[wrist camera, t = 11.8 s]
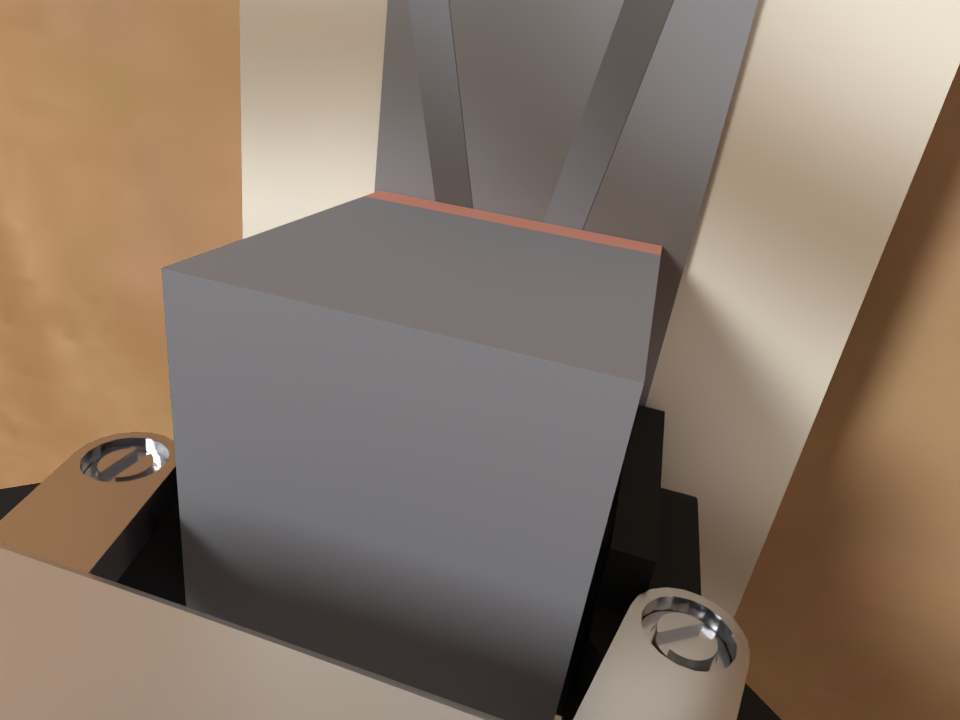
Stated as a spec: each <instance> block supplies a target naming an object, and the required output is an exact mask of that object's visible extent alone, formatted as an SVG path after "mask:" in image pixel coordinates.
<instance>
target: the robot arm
mask: <svg viewBox="0 0 960 720" xmlns="http://www.w3.org/2000/svg"><path fill="white" fill-rule="evenodd" d="M664 420H665V411H661V410H657V409H653V408H649V407H645V406H641V405H638V408H637V411H636V415H635V419H634V423H633V426H632V430H631V434H630V438H629V441H628V445H627V449H626V453H625V456H624V460H623V464H622V468H621V471H620V475H619V479H618V482H617V486H616V490H615V494H614V497H613V501H612V505H611V509H610V512H609V516H608V520H607V524H606V527H605V531H604V535H603V539H602V542H601V546H600V550H599V554H598V557H597V561H596V565H595V569H594V572H593V576H592V580H591V584H590V587H589V591H588V595H587V599H586V602H585V606H584V610H583V614H582V617H581V621H580V625H579V629H578V632H577V636H576V640H575V644H574V647H573V651H572V655H571V659H570V662H569V666H568V670H567V673H566V677H565V681H564V685H563V688H562V692H561V696H560V700H559V703H558V707H557V711H556V715H558V716H561V717H562V720H781V719H780V718H779V717H778V716H777V715H776V714H775V713H774V712H773V711H772V710H771V709H770V708H769V707H768V706H767V705H766V704H765V703H764V702H763V701H762V700H761V699H760V698H759V697H758V696H757V695H756V694H755V693H754V691H753V690H752V689H751V688H750V687H749V686H748V685H747V684H746V683H745V681H746V677H747V673H748V668H749V664H750V646H749V644H748V641H747V639H746V636H745V634H744V632H743V630H742V629H741V628H740V627H739V625H738V624H737V623H736V621H735V620H734V619H733V618H732V617H731V616H730V615H729V614H728V613H727V612H725V611H724V610H723V609H722V608H721V607H719V606H718V605H717V604H715V603H713V602H711V601H710V600H708V599H706V598H704V597H703V596H701V574H700V546H699V518H698V500H697V498H696V497H695V496H691V495H687V494H684V493H680V492H676V491H672V490H669V489H665V488H661V475H662V457H663V439H664ZM0 720H504V719H501V718H498V717H495V716H492V715H490V714H487V713H484V712H481V711H478V710H476V709H473V708H470V707H467V706H465V705H462V704H459V703H456V702H453V701H451V700H448V699H445V698H442V697H439V696H437V695H434V694H431V693H428V692H425V691H423V690H420V689H417V688H414V687H412V686H409V685H406V684H403V683H400V682H398V681H395V680H392V679H389V678H386V677H384V676H381V675H378V674H375V673H373V672H370V671H367V670H364V669H361V668H359V667H356V666H353V665H350V664H347V663H344V662H342V661H339V660H336V659H333V658H330V657H327V656H325V655H322V654H319V653H316V652H313V651H310V650H308V649H305V648H302V647H299V646H296V645H293V644H291V643H288V642H285V641H282V640H279V639H276V638H274V637H271V636H268V635H265V634H262V633H259V632H257V631H254V630H251V629H248V628H245V627H242V626H240V625H237V624H234V623H231V622H228V621H225V620H222V619H220V618H217V617H214V616H211V615H208V614H205V613H202V612H200V611H197V610H194V609H191V608H188V607H186V596H185V583H184V569H183V555H182V542H181V528H180V515H179V501H178V487H177V474H176V460H175V446H174V441H172V440H171V439H169V438H167V437H165V436H162V435H158V434H153V433H143V432H131V433H121V434H115V435H111V436H107V437H103V438H100V439H98V440H95V441H93V442H91V443H88V444H86V445H85V446H83V447H82V448H80V449H79V450H78V451H76V452H75V453H74V454H73V455H71V456H70V457H69V458H68V459H67V460H66V461H65V462H64V463H63V464H62V465H60V466H59V467H58V468H57V469H56V470H55V471H54V472H53V473H52V474H51V475H50V476H48V477H47V478H46V479H45V480H44V481H43V482H42V483H37V484H30V485H24V486H18V487H12V488H5V489H0Z"/></svg>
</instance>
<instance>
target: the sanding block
mask: <svg viewBox="0 0 960 720" xmlns="http://www.w3.org/2000/svg"><path fill="white" fill-rule="evenodd" d="M661 250H662V246H660V245H655V244H650V243H645V242H640V241H635V240H630V239H625V238H620V237H614V236H609V235H604V234H599V233H594V232H589V231H584V230H579V229H574V228H569V227H563V226H558V225H553V224H548V223H543V222H538V221H533V220H528V219H523V218H518V217H512V216H507V215H502V214H497V213H492V212H487V211H482V210H477V209H472V208H467V207H461V206H456V205H451V204H446V203H441V202H436V201H431V200H426V199H421V198H416V197H410V196H405V195H400V194H395V193H390V192H385V191H377V192H374V193H371V194H369V195H366V196H363V197H360V198H357V199H355V200H352V201H349V202H346V203H343V204H341V205H338V206H335V207H332V208H329V209H326V210H324V211H321V212H318V213H315V214H312V215H310V216H307V217H304V218H301V219H298V220H295V221H293V222H290V223H287V224H284V225H281V226H279V227H276V228H273V229H270V230H267V231H265V232H262V233H259V234H256V235H253V236H250V237H248V238H245V239H242V240H239V241H236V242H234V243H231V244H228V245H225V246H222V247H220V248H217V249H214V250H211V251H208V252H205V253H203V254H200V255H197V256H194V257H191V258H189V259H186V260H183V261H180V262H177V263H175V264H172V265H169V266H166V267H163V268H161V269H162V283H163V297H164V310H165V324H166V337H167V351H168V365H169V378H170V392H171V406H172V419H173V433H174V446H175V460H176V474H177V487H178V501H179V515H180V528H181V542H182V555H183V569H184V583H185V596H186V607H188V608H191V609H194V610H197V611H200V612H202V613H205V614H208V615H211V616H214V617H217V618H220V619H222V620H225V621H228V622H231V623H234V624H237V625H240V626H242V627H245V628H248V629H251V630H254V631H257V632H259V633H262V634H265V635H268V636H271V637H274V638H276V639H279V640H282V641H285V642H288V643H291V644H293V645H296V646H299V647H302V648H305V649H308V650H310V651H313V652H316V653H319V654H322V655H325V656H327V657H330V658H333V659H336V660H339V661H342V662H344V663H347V664H350V665H353V666H356V667H359V668H361V669H364V670H367V671H370V672H373V673H375V674H378V675H381V676H384V677H386V678H389V679H392V680H395V681H398V682H400V683H403V684H406V685H409V686H412V687H414V688H417V689H420V690H423V691H425V692H428V693H431V694H434V695H437V696H439V697H442V698H445V699H448V700H451V701H453V702H456V703H459V704H462V705H465V706H467V707H470V708H473V709H476V710H478V711H481V712H484V713H487V714H490V715H492V716H495V717H498V718H501V719H504V720H554V718H555V715H556V711H557V707H558V703H559V700H560V696H561V692H562V688H563V685H564V681H565V677H566V673H567V670H568V666H569V662H570V659H571V655H572V651H573V647H574V644H575V640H576V636H577V632H578V629H579V625H580V621H581V617H582V614H583V610H584V606H585V602H586V599H587V595H588V591H589V587H590V584H591V580H592V576H593V572H594V569H595V565H596V561H597V557H598V554H599V550H600V546H601V542H602V539H603V535H604V531H605V527H606V524H607V520H608V516H609V512H610V509H611V505H612V501H613V497H614V494H615V490H616V486H617V482H618V479H619V475H620V471H621V468H622V464H623V460H624V456H625V453H626V449H627V445H628V441H629V438H630V434H631V430H632V426H633V423H634V419H635V415H636V411H637V408H638V404H639V400H640V396H641V393H642V389H643V385H644V380H645V372H646V364H647V357H648V349H649V342H650V334H651V326H652V319H653V311H654V303H655V296H656V288H657V280H658V273H659V265H660V257H661Z"/></svg>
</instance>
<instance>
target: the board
mask: <svg viewBox="0 0 960 720" xmlns="http://www.w3.org/2000/svg"><path fill="white" fill-rule="evenodd" d="M240 62H241V134H242V207H243V239H245V238H248V237H250V236H253V235H256V234H259V233H262V232H265V231H267V230H270V229H273V228H276V227H279V226H281V225H284V224H287V223H290V222H293V221H295V220H298V219H301V218H304V217H307V216H310V215H312V214H315V213H318V212H321V211H324V210H326V209H329V208H332V207H335V206H338V205H341V204H343V203H346V202H349V201H352V200H355V199H357V198H360V197H363V196H366V195H369V194H371V193H374V192H377V191H385V192H390V193H395V194H400V195H405V196H410V197H416V198H421V199H426V200H431V201H436V202H441V203H446V204H451V205H456V206H461V207H467V208H472V209H477V210H482V211H487V212H492V213H497V214H502V215H507V216H512V217H518V218H523V219H528V220H533V221H538V222H543V223H548V224H553V225H558V226H563V227H569V228H574V229H579V230H584V231H589V232H594V233H599V234H604V235H609V236H614V237H620V238H625V239H630V240H635V241H640V242H645V243H650V244H655V245H660V246H662V250H661V257H660V265H659V273H658V280H657V288H656V296H655V303H654V311H653V319H652V326H651V334H650V342H649V349H648V357H647V364H646V372H645V380H644V385H643V389H642V393H641V396H640V400H639V404H638V405H641V406H645V407H649V408H653V409H657V410H661V411H665V420H664V439H663V457H662V475H661V488H665V489H669V490H672V491H676V492H680V493H684V494H687V495H691V496H695V497H696V498H697V500H698V518H699V546H700V574H701V596H703V597H704V598H706V599H708V600H710V601H711V602H713V603H715V604H717V605H718V606H719V607H721V608H722V609H723V610H724V611H725V612H727V613H728V614H729V615H730V616H731V617H732V618H733V619H734V617H735V614H736V612H737V609H738V607H739V604H740V602H741V599H742V597H743V594H744V592H745V590H746V587H747V585H748V582H749V580H750V577H751V575H752V572H753V570H754V567H755V565H756V563H757V560H758V558H759V555H760V553H761V550H762V548H763V545H764V543H765V540H766V538H767V535H768V533H769V531H770V528H771V526H772V523H773V521H774V518H775V516H776V513H777V511H778V508H779V506H780V504H781V501H782V499H783V496H784V494H785V491H786V489H787V486H788V484H789V481H790V479H791V477H792V474H793V472H794V469H795V467H796V464H797V462H798V459H799V457H800V454H801V452H802V449H803V447H804V445H805V442H806V440H807V437H808V435H809V432H810V430H811V427H812V425H813V422H814V420H815V418H816V415H817V413H818V410H819V408H820V405H821V403H822V400H823V398H824V395H825V393H826V391H827V388H828V386H829V383H830V381H831V378H832V376H833V373H834V371H835V368H836V366H837V364H838V361H839V359H840V356H841V354H842V351H843V349H844V346H845V344H846V341H847V339H848V336H849V334H850V332H851V329H852V327H853V324H854V322H855V319H856V317H857V314H858V312H859V309H860V307H861V305H862V302H863V300H864V297H865V295H866V292H867V290H868V287H869V285H870V282H871V280H872V278H873V275H874V273H875V270H876V268H877V265H878V263H879V260H880V258H881V255H882V253H883V251H884V248H885V246H886V243H887V241H888V238H889V236H890V233H891V231H892V228H893V226H894V223H895V221H896V219H897V216H898V214H899V211H900V209H901V206H902V204H903V201H904V199H905V196H906V194H907V192H908V189H909V187H910V184H911V182H912V179H913V177H914V174H915V172H916V169H917V167H918V165H919V162H920V160H921V157H922V155H923V152H924V150H925V147H926V145H927V142H928V140H929V138H930V135H931V133H932V130H933V128H934V125H935V123H936V120H937V118H938V115H939V113H940V110H941V108H942V106H943V103H944V101H945V98H946V96H947V93H948V91H949V88H950V86H951V83H952V81H953V79H954V76H955V74H956V71H957V69H958V66H959V64H960V0H240ZM554 720H562V717H561V716H558V715H555V718H554Z"/></svg>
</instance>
